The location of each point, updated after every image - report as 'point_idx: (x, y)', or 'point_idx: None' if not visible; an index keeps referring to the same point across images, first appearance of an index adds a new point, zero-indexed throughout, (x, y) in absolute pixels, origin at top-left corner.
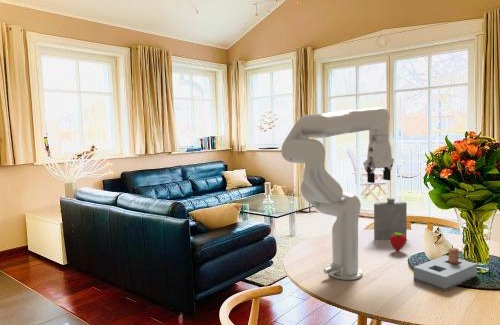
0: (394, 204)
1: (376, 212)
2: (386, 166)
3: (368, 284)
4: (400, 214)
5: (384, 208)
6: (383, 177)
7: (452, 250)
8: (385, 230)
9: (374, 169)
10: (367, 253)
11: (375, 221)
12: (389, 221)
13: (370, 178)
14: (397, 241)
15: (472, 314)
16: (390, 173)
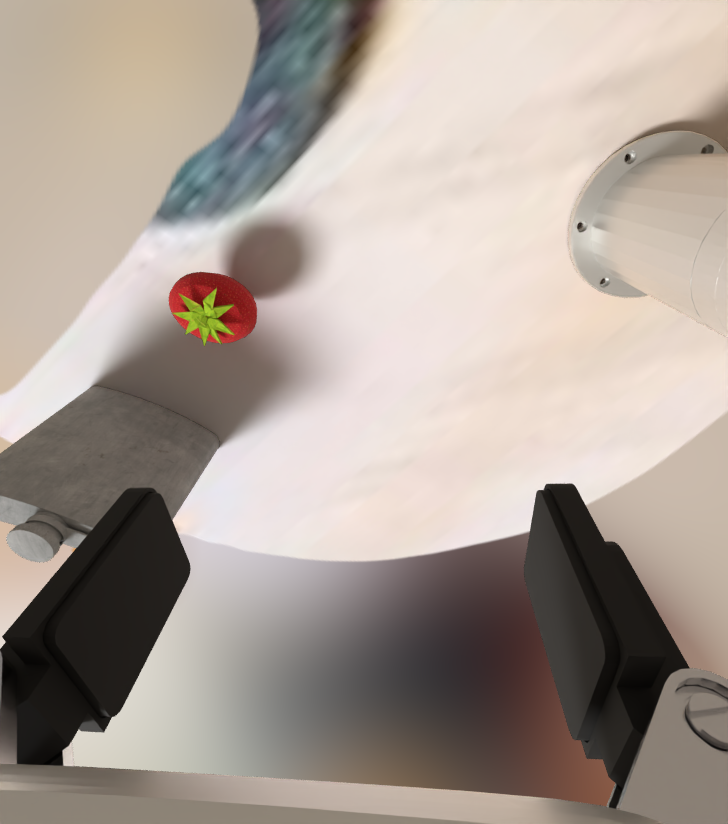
0: (39, 505)
1: None
2: (131, 794)
3: (695, 40)
4: (45, 455)
5: None
6: (178, 592)
7: None
8: (166, 439)
9: (654, 787)
10: (364, 348)
11: (186, 490)
12: (126, 456)
13: (633, 577)
14: (239, 287)
15: None
16: (52, 577)
